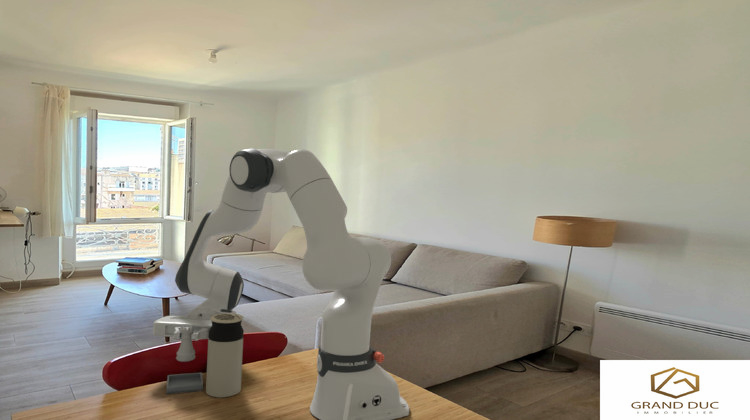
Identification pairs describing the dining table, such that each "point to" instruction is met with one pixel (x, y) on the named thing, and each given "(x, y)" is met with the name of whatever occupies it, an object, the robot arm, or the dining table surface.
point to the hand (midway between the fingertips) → (185, 336)
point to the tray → (184, 383)
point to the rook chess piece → (186, 345)
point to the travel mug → (224, 355)
